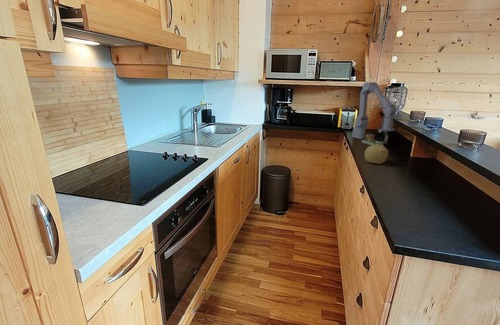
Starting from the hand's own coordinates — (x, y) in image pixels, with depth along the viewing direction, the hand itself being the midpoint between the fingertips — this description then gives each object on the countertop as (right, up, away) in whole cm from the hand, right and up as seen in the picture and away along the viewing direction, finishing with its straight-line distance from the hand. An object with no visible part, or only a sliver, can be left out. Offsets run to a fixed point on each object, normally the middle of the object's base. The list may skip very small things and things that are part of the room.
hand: (384, 141), depth 194 cm
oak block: (-11, -1, +1) cm, 11 cm away
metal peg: (0, -2, +1) cm, 2 cm away
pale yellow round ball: (-30, -16, -46) cm, 57 cm away
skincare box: (+17, +7, +30) cm, 35 cm away
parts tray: (-10, -2, -1) cm, 10 cm away
